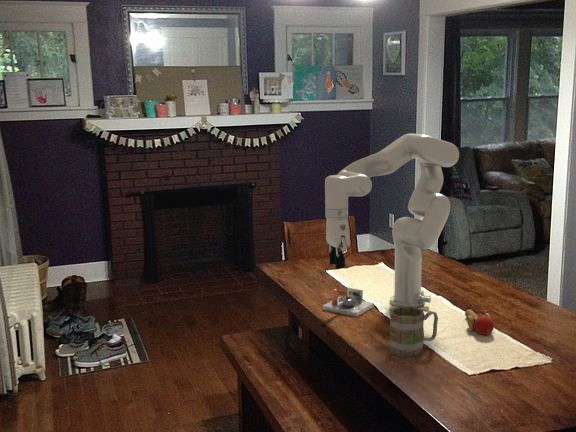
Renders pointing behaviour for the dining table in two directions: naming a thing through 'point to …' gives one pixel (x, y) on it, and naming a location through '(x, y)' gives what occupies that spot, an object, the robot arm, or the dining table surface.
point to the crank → (342, 300)
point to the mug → (409, 330)
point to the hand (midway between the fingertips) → (337, 265)
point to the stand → (353, 310)
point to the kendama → (479, 322)
